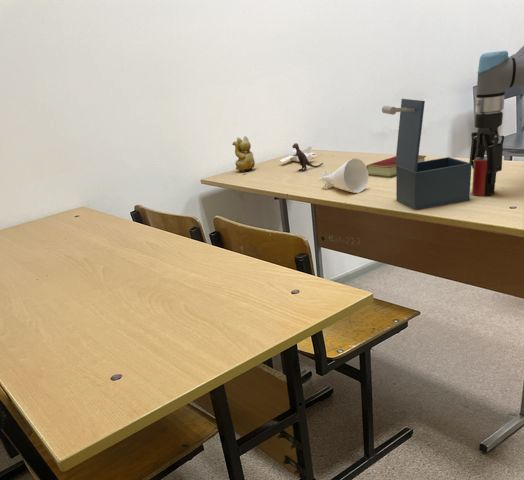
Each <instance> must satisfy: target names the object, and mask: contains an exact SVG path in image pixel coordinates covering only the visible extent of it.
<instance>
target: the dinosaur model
mask: <svg viewBox="0 0 524 480" xmlns="http://www.w3.org/2000/svg"><path fill="white" fill-rule="evenodd" d="M291 147H292V149H296V155H293V156H298V159H299V161H300V162H299V164H300V166H301V168H300V169H298V171H299V172H305V171H306V169H308V168H307V167H311V168H319V167H321V166H322V165H323V164H324V162H322V163H320V164H318V165H314V164H312V163H311V162H309V161H308V159H307V157H306V155H305V154H304V153H303V151H302V150H301V149H300V146H299V144H298V143H293V145H292V146H291Z"/></svg>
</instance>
